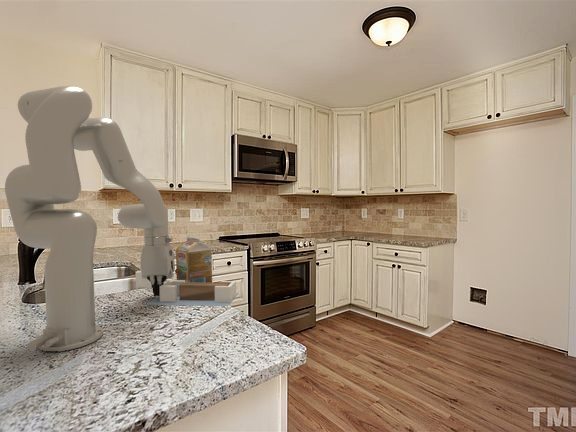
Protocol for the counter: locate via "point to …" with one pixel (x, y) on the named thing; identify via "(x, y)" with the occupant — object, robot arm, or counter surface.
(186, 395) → the counter surface
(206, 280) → the milk carton
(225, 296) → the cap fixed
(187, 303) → the board
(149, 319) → the counter surface
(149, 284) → the medicine bottle
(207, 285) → the brown rectangular block
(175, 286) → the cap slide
